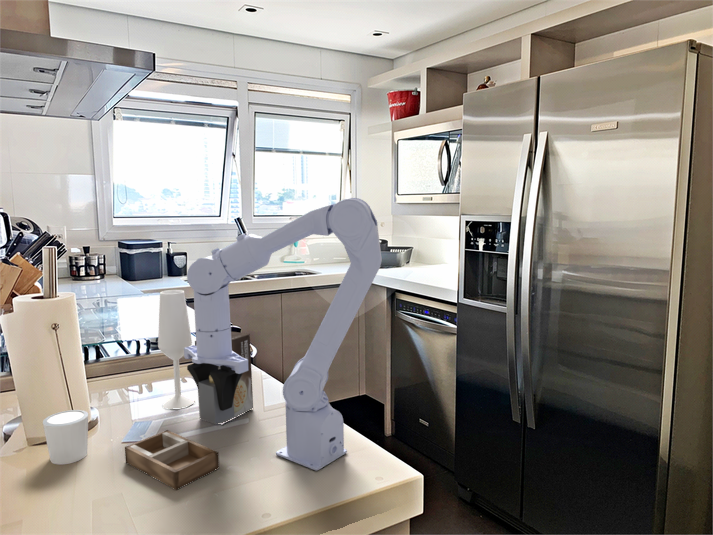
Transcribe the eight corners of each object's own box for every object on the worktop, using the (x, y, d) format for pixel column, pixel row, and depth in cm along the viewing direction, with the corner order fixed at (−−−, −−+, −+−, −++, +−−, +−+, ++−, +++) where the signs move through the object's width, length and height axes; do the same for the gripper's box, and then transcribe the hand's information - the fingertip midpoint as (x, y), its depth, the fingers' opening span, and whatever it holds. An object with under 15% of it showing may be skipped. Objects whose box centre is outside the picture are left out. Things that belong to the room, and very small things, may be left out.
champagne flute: (176, 412, 111) (169, 296, 108) (154, 405, 115) (147, 293, 112) (201, 401, 117) (196, 290, 114) (180, 395, 121) (174, 288, 117)
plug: (234, 416, 94) (232, 374, 93) (215, 424, 91) (213, 381, 90) (219, 411, 97) (217, 370, 96) (200, 418, 94) (197, 376, 92)
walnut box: (219, 468, 89) (218, 452, 88) (176, 490, 82) (175, 472, 82) (168, 444, 97) (167, 429, 97) (125, 462, 91) (124, 446, 91)
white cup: (41, 468, 89) (37, 428, 88) (52, 450, 96) (48, 411, 95) (87, 463, 91) (83, 422, 90) (95, 444, 98) (92, 407, 97)
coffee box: (230, 404, 116) (227, 329, 113) (254, 409, 112) (251, 333, 110) (198, 419, 108) (193, 340, 106) (222, 426, 105) (218, 344, 102)
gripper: (166, 326, 93) (171, 403, 95) (222, 339, 84) (226, 423, 86) (201, 318, 99) (205, 391, 101) (256, 330, 90) (259, 409, 92)
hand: (217, 405), depth 94 cm, fingers closed on plug, 4 cm apart
